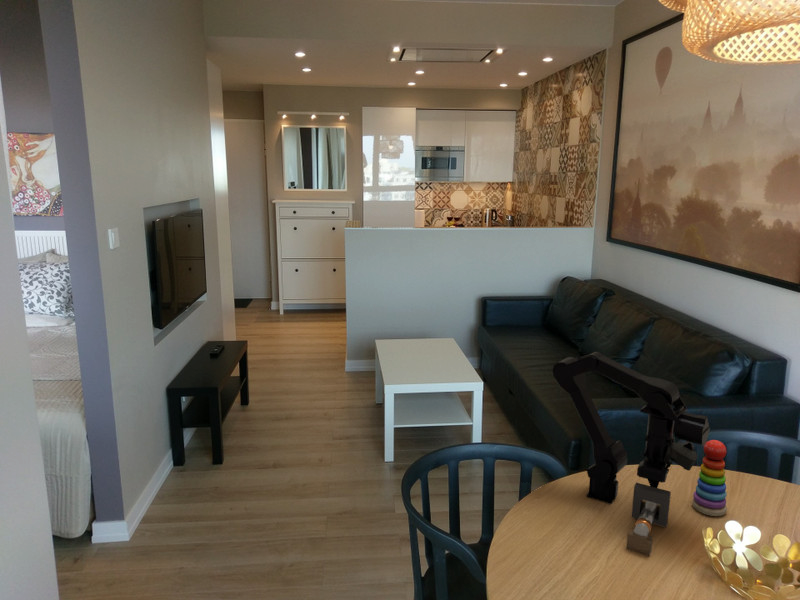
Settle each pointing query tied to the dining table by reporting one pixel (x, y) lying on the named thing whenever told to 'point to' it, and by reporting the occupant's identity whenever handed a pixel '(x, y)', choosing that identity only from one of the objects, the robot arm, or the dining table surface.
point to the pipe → (643, 529)
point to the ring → (652, 496)
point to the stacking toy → (711, 481)
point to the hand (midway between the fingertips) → (654, 489)
